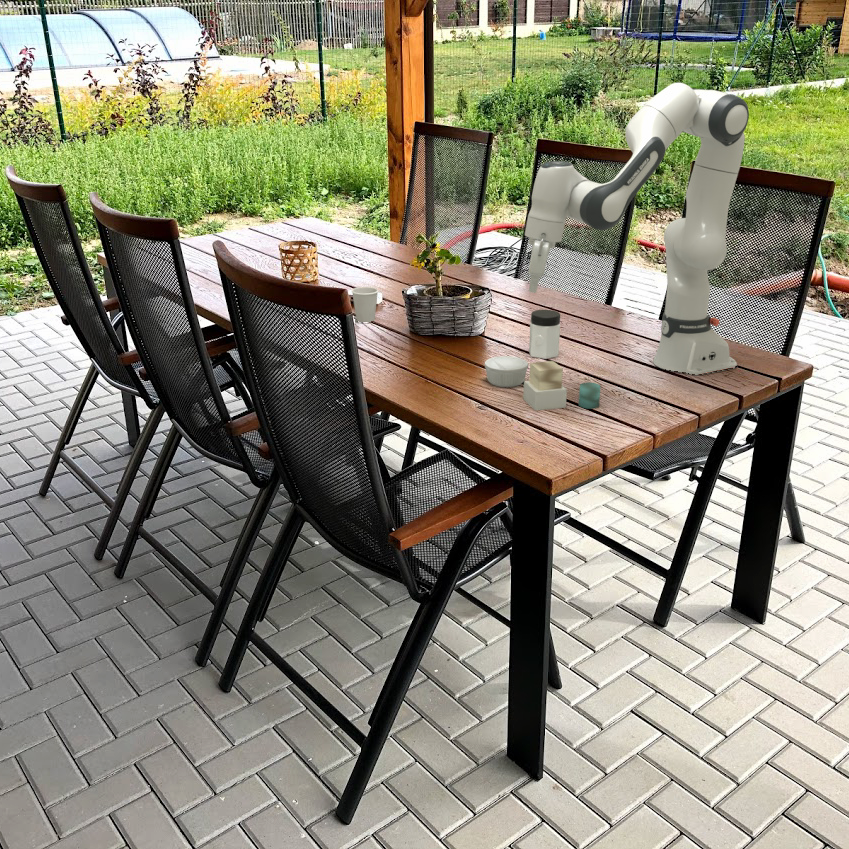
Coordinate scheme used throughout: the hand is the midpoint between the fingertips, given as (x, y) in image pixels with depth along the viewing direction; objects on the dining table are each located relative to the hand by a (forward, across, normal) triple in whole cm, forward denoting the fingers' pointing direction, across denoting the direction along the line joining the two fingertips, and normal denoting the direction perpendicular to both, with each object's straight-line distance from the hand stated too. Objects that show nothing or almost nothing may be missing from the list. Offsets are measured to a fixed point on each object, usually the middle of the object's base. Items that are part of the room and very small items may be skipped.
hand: (533, 288), depth 224 cm
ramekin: (+28, +10, +2) cm, 29 cm away
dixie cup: (+30, +58, +50) cm, 82 cm away
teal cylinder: (+25, -3, -19) cm, 32 cm away
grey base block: (+27, -4, -8) cm, 28 cm away
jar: (+24, +34, -6) cm, 42 cm away
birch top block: (+22, -4, -7) cm, 24 cm away
